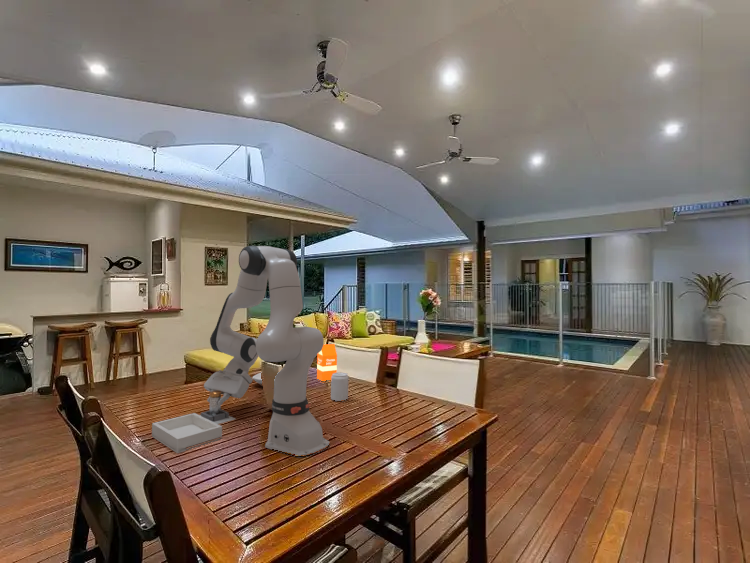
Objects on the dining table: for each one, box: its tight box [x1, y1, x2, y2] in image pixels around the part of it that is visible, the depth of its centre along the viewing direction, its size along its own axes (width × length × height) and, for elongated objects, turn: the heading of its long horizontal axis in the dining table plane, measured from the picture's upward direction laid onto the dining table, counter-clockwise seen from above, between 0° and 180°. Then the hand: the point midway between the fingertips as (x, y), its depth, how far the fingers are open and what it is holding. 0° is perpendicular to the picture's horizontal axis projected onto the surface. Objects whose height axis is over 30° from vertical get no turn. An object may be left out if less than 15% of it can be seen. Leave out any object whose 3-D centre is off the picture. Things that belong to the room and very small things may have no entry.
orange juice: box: [316, 343, 338, 382], centre depth 220 cm, size 8×9×20 cm
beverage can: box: [330, 371, 349, 402], centre depth 184 cm, size 8×8×12 cm
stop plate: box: [199, 409, 236, 425], centre depth 153 cm, size 14×10×3 cm
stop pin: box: [208, 391, 222, 417], centre depth 153 cm, size 4×4×10 cm
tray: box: [151, 412, 223, 454], centre depth 136 cm, size 20×15×4 cm
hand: (213, 403), depth 152 cm, fingers closed on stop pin, 4 cm apart
